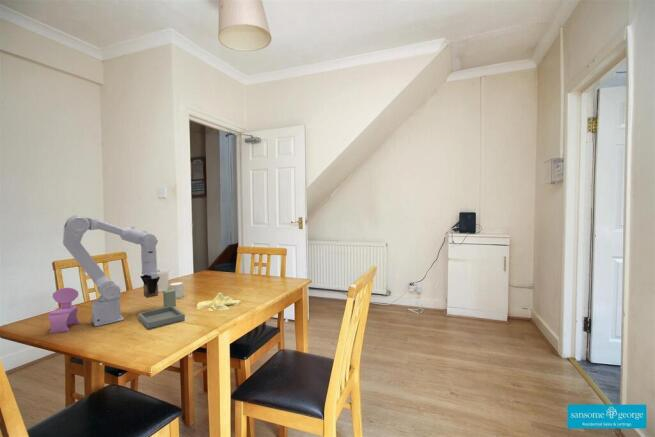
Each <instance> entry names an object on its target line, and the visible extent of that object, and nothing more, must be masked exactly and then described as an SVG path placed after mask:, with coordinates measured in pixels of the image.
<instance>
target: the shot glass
mask: <svg viewBox="0 0 655 437" xmlns="http://www.w3.org/2000/svg"><path fill="white" fill-rule="evenodd" d="M168 288H169V290H171V289H173V290H174V291H175V298H176V300H178V299H182V298H184V291H185V282H183V281H177V282H171V283H168Z"/></svg>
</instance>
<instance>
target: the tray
mask: <svg viewBox="0 0 655 437" xmlns="http://www.w3.org/2000/svg"><path fill="white" fill-rule="evenodd" d="M137 318H138V321H139V322H140V323H142V325H143V326H144V327H145V328H146V329H147V330H152V329H156V328H160V327H165V326H169V325H172V324H176V323H179V322H184V321H185V313H184V312H181V310H179V309H178V308H177V307H176V306H174V307H173V306H169V307H161V308H156V309H152V310H147V311H142V312H139V313H138V316H137Z"/></svg>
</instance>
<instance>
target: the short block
mask: <svg viewBox="0 0 655 437" xmlns="http://www.w3.org/2000/svg"><path fill="white" fill-rule="evenodd" d="M158 296H159V292H158V284H157V286H156V291H155V293H152V294H149V291H148V286H147V284H144V283H143V297H145V298H146V299H149V298H154V297H158Z"/></svg>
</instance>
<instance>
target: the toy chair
mask: <svg viewBox="0 0 655 437" xmlns="http://www.w3.org/2000/svg"><path fill="white" fill-rule="evenodd" d="M78 297H79V291H78V290H76V289H75V288H73V287H63V288H60V289H57V290H55V292H53V293H52V299H53V300H54V301H55V302H56V303H59V304H60V305H61V307H57V308H55V309H54V310H52V311H50V312H49V313H48V321H49V324H50V330H49V334H56V333H66V332H70V331H71V330H70V328H69V325H77V324H79V325H80V324H81V322H80V321H79V319H78V317H77V314H78V311H79V308H78V306H77V305H76V306H72V303H73V301H75V300H76V299H77V298H78Z"/></svg>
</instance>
